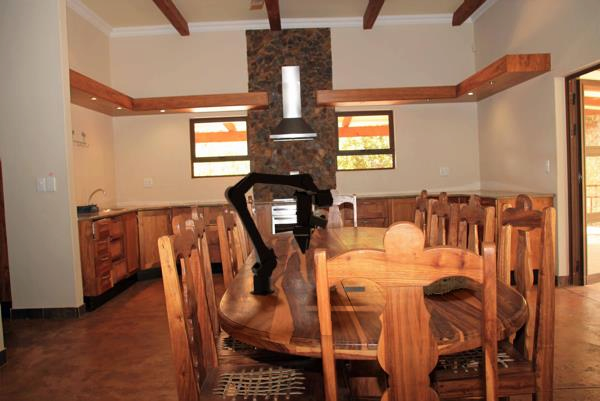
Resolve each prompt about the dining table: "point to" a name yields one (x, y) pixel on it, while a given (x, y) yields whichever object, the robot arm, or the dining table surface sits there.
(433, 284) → the rock
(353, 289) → the stamping board
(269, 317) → the dining table surface
